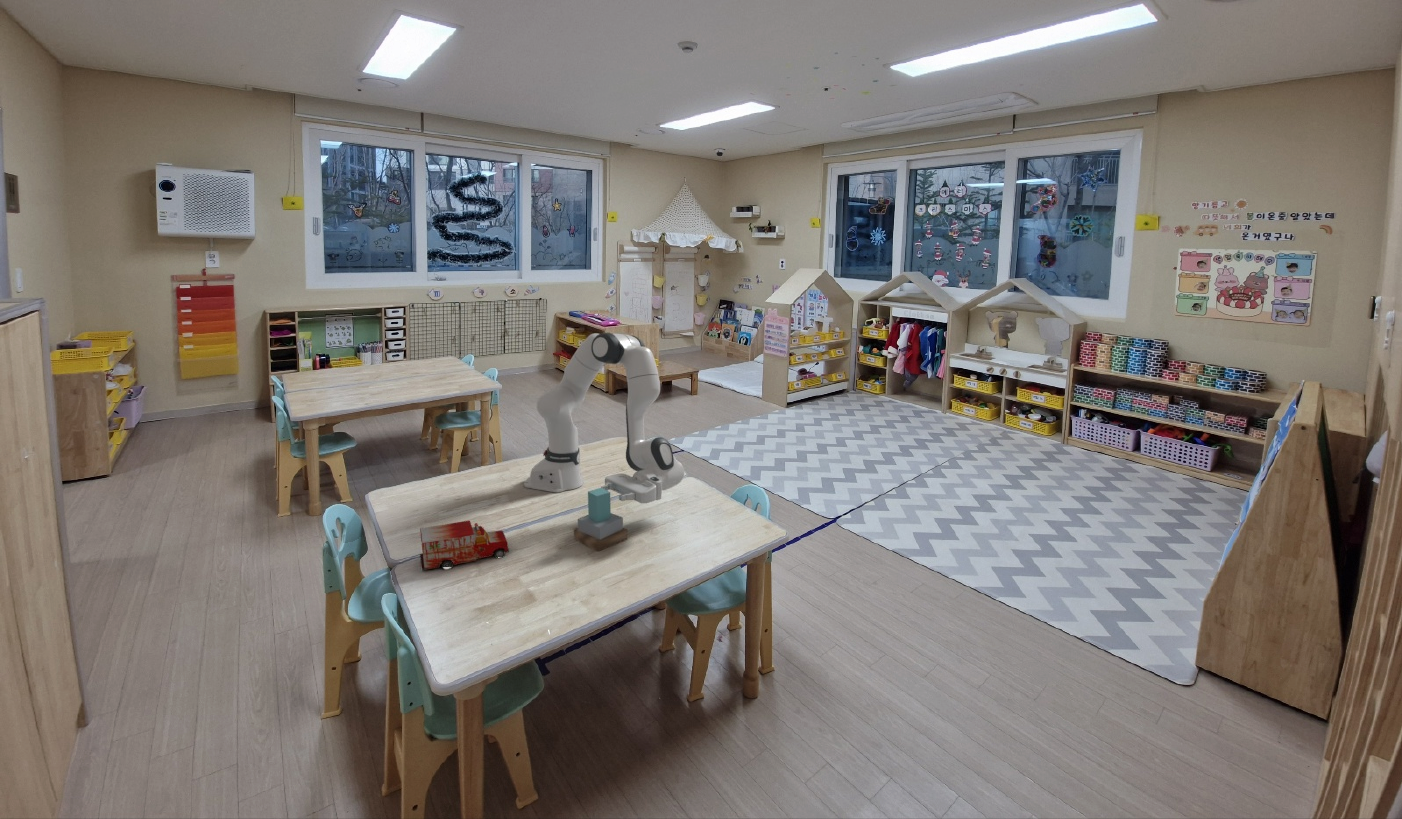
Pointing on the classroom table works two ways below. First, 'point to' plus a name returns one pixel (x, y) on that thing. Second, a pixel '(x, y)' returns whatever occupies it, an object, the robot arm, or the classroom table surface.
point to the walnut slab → (600, 544)
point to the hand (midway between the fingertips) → (611, 494)
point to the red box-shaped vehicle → (459, 544)
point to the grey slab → (600, 526)
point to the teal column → (599, 505)
